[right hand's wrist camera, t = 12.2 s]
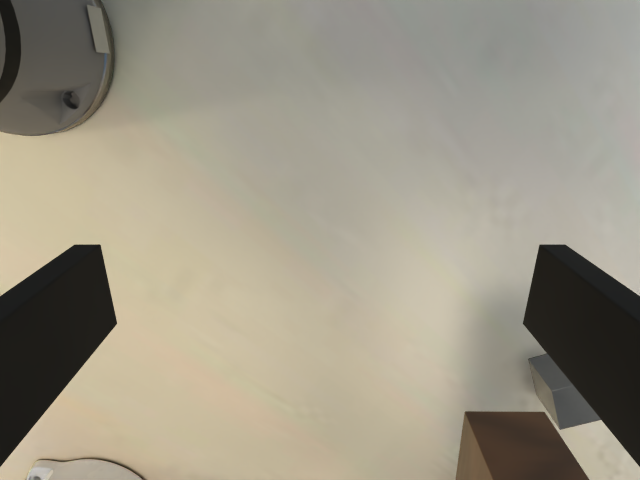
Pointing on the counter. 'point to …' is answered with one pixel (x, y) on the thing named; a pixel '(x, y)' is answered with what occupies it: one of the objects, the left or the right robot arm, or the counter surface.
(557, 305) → the right robot arm
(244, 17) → the counter surface
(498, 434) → the walnut plank
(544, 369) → the slate block
